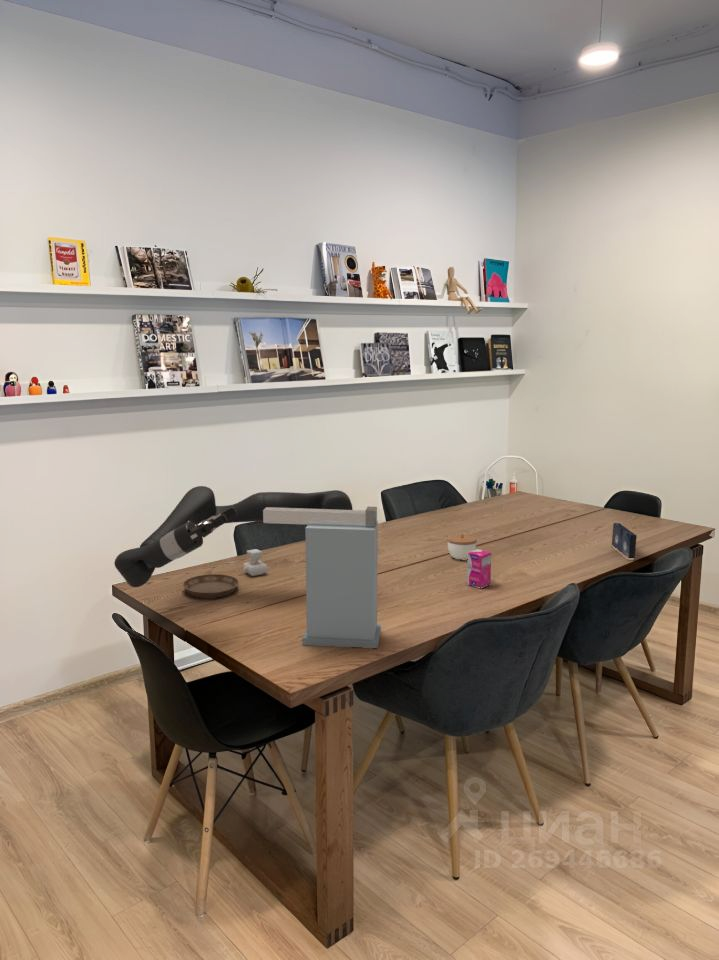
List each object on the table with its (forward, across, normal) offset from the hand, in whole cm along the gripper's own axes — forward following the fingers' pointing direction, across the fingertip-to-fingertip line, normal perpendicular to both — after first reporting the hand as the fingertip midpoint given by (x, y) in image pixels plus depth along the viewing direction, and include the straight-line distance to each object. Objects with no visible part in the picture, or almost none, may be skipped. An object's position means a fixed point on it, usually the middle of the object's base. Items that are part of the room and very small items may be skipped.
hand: (230, 513), depth 200 cm
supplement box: (+43, +49, +64) cm, 91 cm away
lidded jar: (+38, +79, +62) cm, 108 cm away
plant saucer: (-32, +33, +21) cm, 51 cm away
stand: (+9, 0, +45) cm, 46 cm away
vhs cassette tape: (+91, +92, +92) cm, 159 cm away
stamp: (-23, +52, +26) cm, 62 cm away
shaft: (+20, 0, +14) cm, 24 cm away
